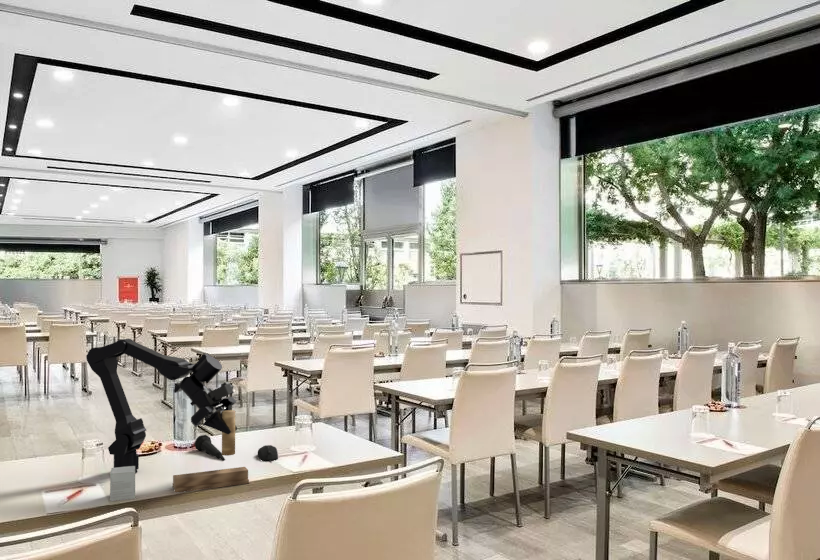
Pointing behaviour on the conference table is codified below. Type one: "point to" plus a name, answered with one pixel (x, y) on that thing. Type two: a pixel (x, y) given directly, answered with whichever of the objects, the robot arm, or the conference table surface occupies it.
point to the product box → (122, 483)
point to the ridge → (210, 479)
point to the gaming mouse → (268, 453)
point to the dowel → (228, 439)
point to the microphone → (207, 446)
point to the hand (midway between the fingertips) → (232, 431)
